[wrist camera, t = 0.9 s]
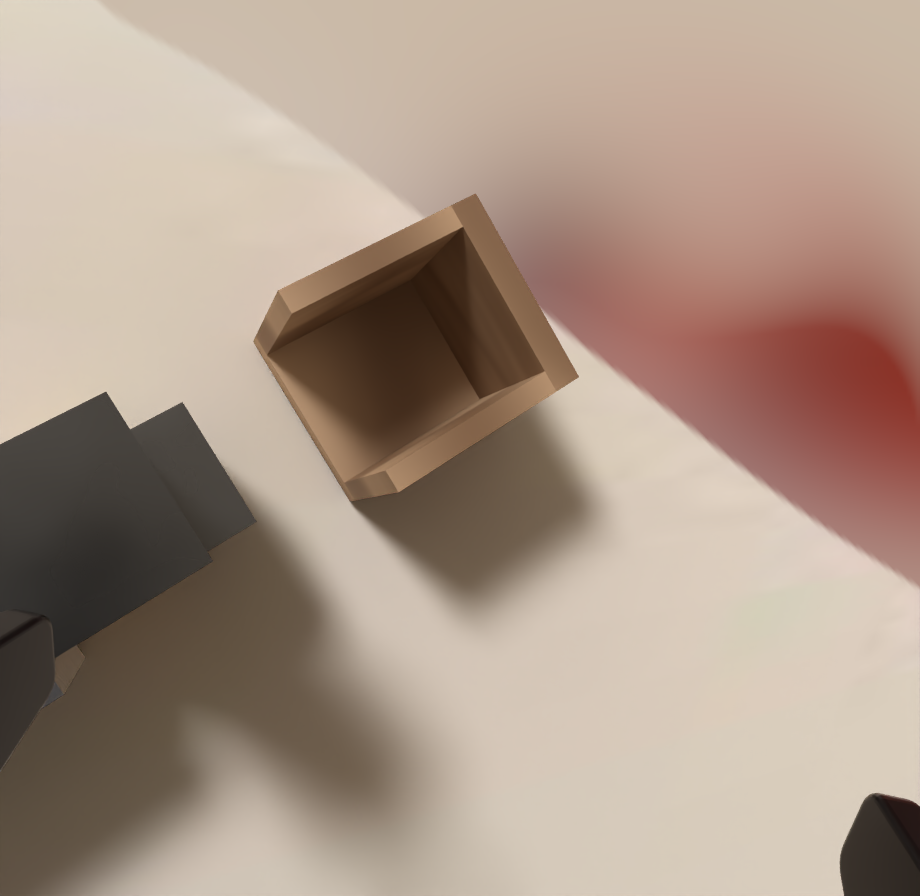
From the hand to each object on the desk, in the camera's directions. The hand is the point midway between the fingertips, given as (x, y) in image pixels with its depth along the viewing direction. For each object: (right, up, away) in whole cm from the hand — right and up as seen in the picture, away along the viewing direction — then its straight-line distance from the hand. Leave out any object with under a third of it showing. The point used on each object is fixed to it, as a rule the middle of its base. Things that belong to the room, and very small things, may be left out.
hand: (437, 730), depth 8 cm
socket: (-2, +5, +15) cm, 16 cm away
